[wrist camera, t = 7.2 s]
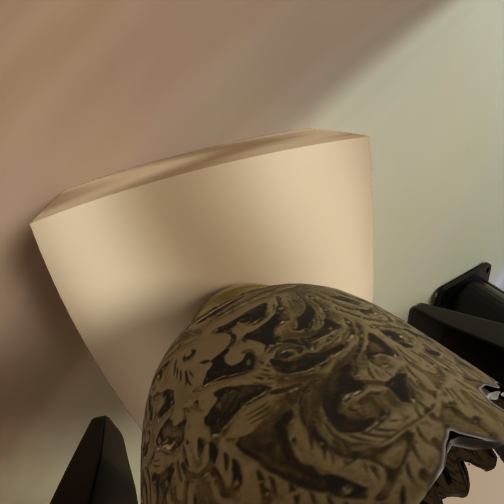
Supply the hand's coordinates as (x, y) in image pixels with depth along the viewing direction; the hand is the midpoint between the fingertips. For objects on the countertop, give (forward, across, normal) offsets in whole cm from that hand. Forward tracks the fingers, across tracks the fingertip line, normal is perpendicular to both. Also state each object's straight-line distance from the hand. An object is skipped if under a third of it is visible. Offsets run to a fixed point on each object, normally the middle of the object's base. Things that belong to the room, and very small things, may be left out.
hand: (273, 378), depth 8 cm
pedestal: (+7, 0, 0) cm, 7 cm away
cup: (+3, 0, 0) cm, 3 cm away
